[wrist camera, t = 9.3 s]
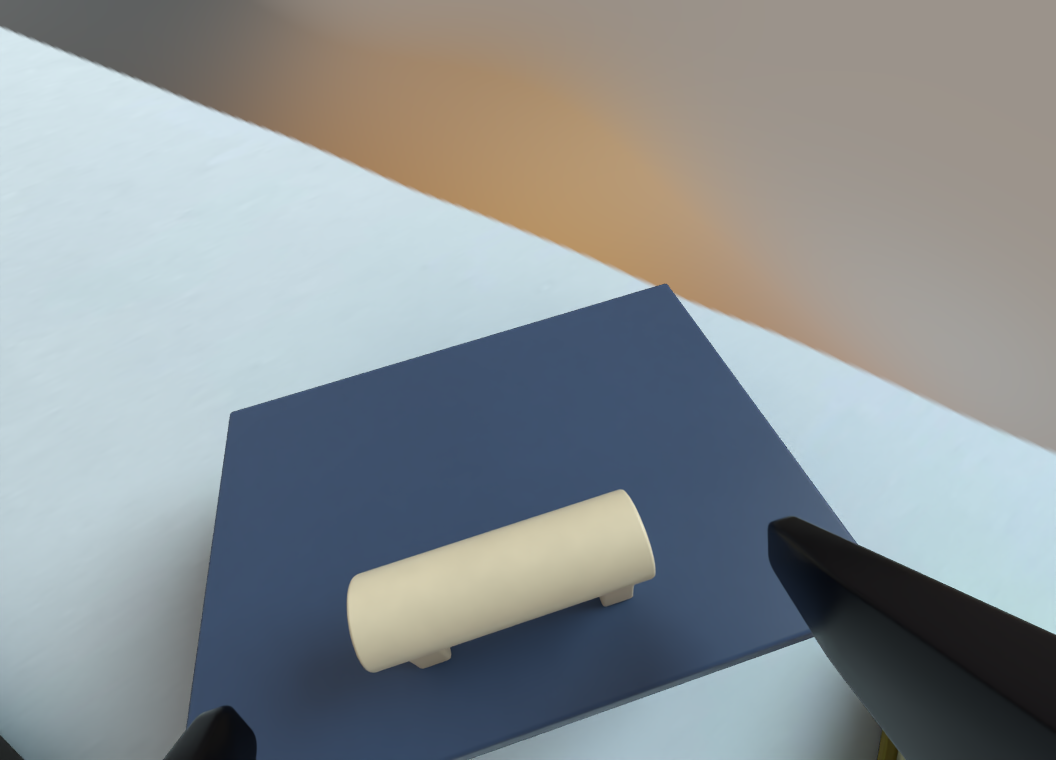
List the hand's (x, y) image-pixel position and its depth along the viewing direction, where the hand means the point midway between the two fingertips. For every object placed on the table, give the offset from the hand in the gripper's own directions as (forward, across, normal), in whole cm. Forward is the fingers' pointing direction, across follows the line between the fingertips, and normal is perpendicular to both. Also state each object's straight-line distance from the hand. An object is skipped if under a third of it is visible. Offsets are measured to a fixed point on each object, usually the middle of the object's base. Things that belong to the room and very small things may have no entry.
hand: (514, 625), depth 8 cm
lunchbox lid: (+5, 0, +2) cm, 6 cm away
